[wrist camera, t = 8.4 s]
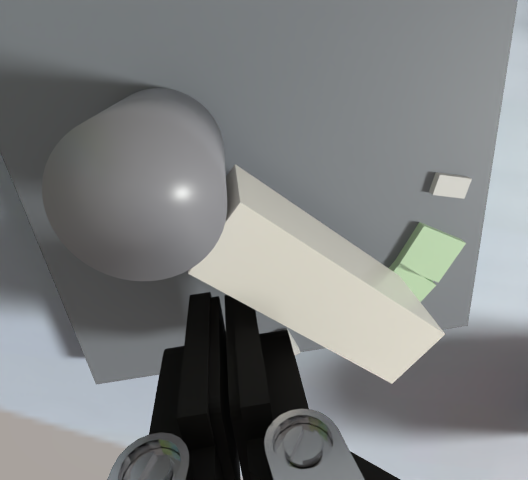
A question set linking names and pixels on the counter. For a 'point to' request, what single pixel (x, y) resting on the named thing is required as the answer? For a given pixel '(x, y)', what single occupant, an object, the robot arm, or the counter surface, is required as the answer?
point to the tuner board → (272, 134)
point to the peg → (222, 231)
